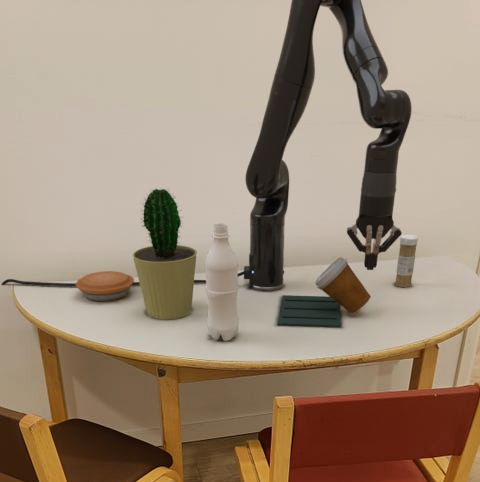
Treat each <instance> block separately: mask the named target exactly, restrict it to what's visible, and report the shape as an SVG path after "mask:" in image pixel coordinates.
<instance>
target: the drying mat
mask: <svg viewBox="0 0 480 482" xmlns="http://www.w3.org/2000/svg"><path fill="white" fill-rule="evenodd" d="M341 318H342V317H341V305H340V304H339V303H337V302H336V301H335V300H334V299H332V298H331V297H330V296H327V295H326V296H323V295H321V296H319V295H293V294H292V295H287V294H286V295H285V294H282V296H281V301H280V307H279V314H278V319H277V326H285V327H313V328H339V329H340V328H342V321H341Z"/></svg>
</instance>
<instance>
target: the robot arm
mask: <svg viewBox="0 0 480 482" xmlns="http://www.w3.org/2000/svg"><path fill="white" fill-rule="evenodd" d="M321 7H324V8H328V9H329V11H330V12H331V13H332V15H333V16H334V18H335V20H336V21H337V23H338V25H339V29H340V31H341V49H342V56H343V59H344V62H345V65H346V68H347V70H348V72H349V74H350V76H351V78H352V81H353V83H354V84H355V87H356V95H357V100H358V105H359V106H358V108H359V112H360V116H361V118H362V120H363V122H364V123H365V124H366V125H367V126H368V127H370V128H371V129H375V130H380V132H379V134H378V137H377V138H376V139H374V140H372V141H370V142H369V143H368V144H367V146H366V149H365V157H364V167H363V169H364V170H363V174H362V178H361V179H362V180H361V188H360V198H359V208H358V215H357V218H356V219H355V223H354V224H353V225H351V226H348V227H347V228H346V234H347V235H348V237H349V239H350V240H351V241H352V243H353V245H354V246H355V247H356V249H357V250H358V252H360V253H361V252H362V253H364V261H363V265H364V268H366V270H367V271H374V269H375V268H377V266H378V265H377V264H378V257H379V254H382V253H386V252H387V251H388V249H390V247H392V245H394V243H395V242H396V241H397V240H398V239H399V238H400V237H401V236H402V233H403V232H402V231H401V228H399V227H397V226H396V225H395V221H394V219H393V214H394V205H395V197H396V193H397V172H398V163H399V153H400V149H401V146H402V144H403V141H404V139H405V136H406V132H407V130H408V128H409V124H410V120H411V117H412V110H413V109H412V108H413V107H412V101H411V97H410V95H409V94H408V92H406V91H405V90H402V89H384V88H383V86H382V85H383V84H384V83H385V82H386V81H387V79H388V76H389V69H388V65H387V63H386V60H385V59H384V57H383V54H382V52H381V50H380V48H379V46H378V44H377V42H376V39H375V37H374V35H373V33H372V31H371V28H370V25H369V23H368V19H367V17H366V13H365V9H364V5H363V3H362V0H291V3H290V9H289V14H288V20H287V25H286V30H285V33H284V38H283V40H282V41H283V42H282V46H281V50H280V53H279V58H278V62H277V64H276V69H275V71H274V75H273V78H272V83H271V87H270V91H269V94H268V99H267V103H266V107H265V111H264V115H263V118H262V123H261V126H260V131H259V135H258V138H257V141H256V144H255V146H254V150H253V152H252V155H251V156H250V157H251V158H250V160H249V162H248V165H247V168H246V171H245V179H244V181H245V186H246V189H247V191H248V193H249V194H250V195H251V196H253V197H254V198H255V201H254V204H253V207H252V209H251V211H250V213H249V255H248V265H244V267H243V271H240V272H238V278H239V277H241V276H243V280H248V288H249V289H251V290H253V289H254V290H256V291H263V292H266V291H267V292H268V291H270V292H271V291H277V290H280V289H282V288H283V287H284V275H285V270H284V261H285V260H284V259H285V227H286V226H285V224H286V222H285V221H286V215H287V212H288V206H289V195H290V194H289V193H290V171H289V168H288V167H289V166H288V165H287V164H286V162H285V161H284V159H283V158H284V154H285V149H286V147H287V145H288V142H289V141H290V138H291V136H293V133H294V131H295V129H296V128H297V126H298V125H299V123H300V120H301V119H302V117H303V115H304V113H305V111H306V107H307V106H308V102H309V100H310V96H311V94H312V90H313V86H314V83H315V78H316V63H315V53H314V30H315V25H316V21H317V18H318V14H319V11H320V8H321ZM358 231H359V233H360V234H361V235H362V237H363V238H364V243H365V244H363V243H362V242H361V240H360V239H359V237H358V236H357V235H358ZM388 233H389V236H388V237H387V238H386V239H385V240H384V242H382V243H381V241H382V239H383V238H384V237H385V236H386V235H387V234H388ZM372 240H373V243H372ZM8 283H15V284H20V285H29V286H30V285H31V286H49V287H51V286H52V287H53V286H54V287H76V286H75V285H76V282H74V283H73V282H71V283H70V282H43V281H27V280H24V281H23V280H18V279H13V278H7V279H5V280H3V282H2V283H1V284H0V285H1V286H5V285H6V284H8ZM194 284H206V279H194ZM131 286H140V283H139V281H134V282H133V284H132V285H131Z"/></svg>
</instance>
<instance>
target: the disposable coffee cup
mask: <svg viewBox="0 0 480 482" xmlns="http://www.w3.org/2000/svg"><path fill="white" fill-rule="evenodd" d="M314 283H315V285H316V288H317V289H319V290H321V291H323V293H325V294H326V295H327V296H328V297H331V298H332V299H334V300H335V301H336V302H337V303H339V304H340V307H342V308H343V309H344V310H346V311H347V312H348V313H349V314H350V315H354V314H356V313H357V312H359V311H360V310H361V309H362V308H363V307H365V306H366V304H367V303H368V302H369V300H370V299H371V297H372V296H371V295H370V293H369V292H368V290H367V289H366V287H365V286H364V284H363V283H362V282H361V280H360V279H359V278H358V276H357V274H356V273H355V272H354V271H353V269H352V268H351V267H350V265H349V264H348V260H347V259H345V258H344V257H342V256H340V257H338V258H337V259H335V260H334V261H333V262H332V263H331V264H330V265H329V266H328V267H327V268H326V269H325V270H324V271H323V272H322V273H321V274H320V275H319V276H318V278H316V279H315V281H314Z"/></svg>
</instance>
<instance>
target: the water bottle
mask: <svg viewBox="0 0 480 482" xmlns="http://www.w3.org/2000/svg"><path fill="white" fill-rule="evenodd" d="M228 226H229V225H228V224H227V223H215V224H213V226H212V227H213V232H212V238H213V240H212V244H211V247H210V249H209V251H208V252H207V256H206V258H205V261H204V267H205V280H206V283H205V292H206V296H207V301H208V311H207V312H208V314H207V318H206V327H207V330H208V334H209V336H210V337H211V338H212V339H213V340H214V341H218V340H219V339H220V337H221V338H222V340H223V342H226V341H227V342H228V341H230V340H232V339H233V338H235V337H236V336H237V334H238V332H239V327H240V319H239V315H238V308H237V299H238V298H237V297H238V291H239V282H238V281H239V279H238V278H239V277H238V273H239V272H238V271H239V270H238V268H239V262H238V259H237V256H236V254H235V252H234V250H233V248H232V246H231V244H230V241H229V238H230V235H229V231H228V230H229V227H228Z"/></svg>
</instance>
